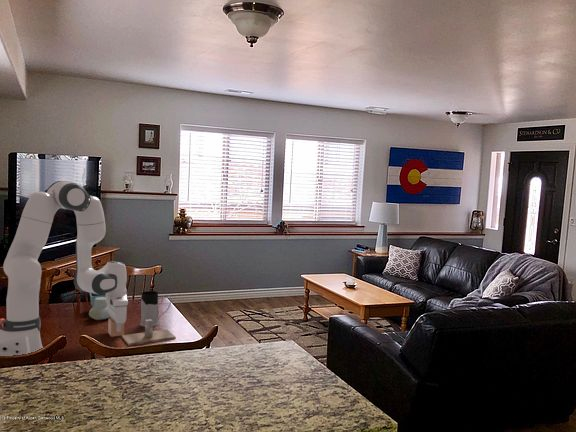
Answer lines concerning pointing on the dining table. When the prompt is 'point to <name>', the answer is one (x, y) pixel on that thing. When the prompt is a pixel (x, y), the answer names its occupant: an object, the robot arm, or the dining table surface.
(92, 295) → the flower pot
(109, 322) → the peach block
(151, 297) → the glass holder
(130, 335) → the post stand
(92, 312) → the air freshener
